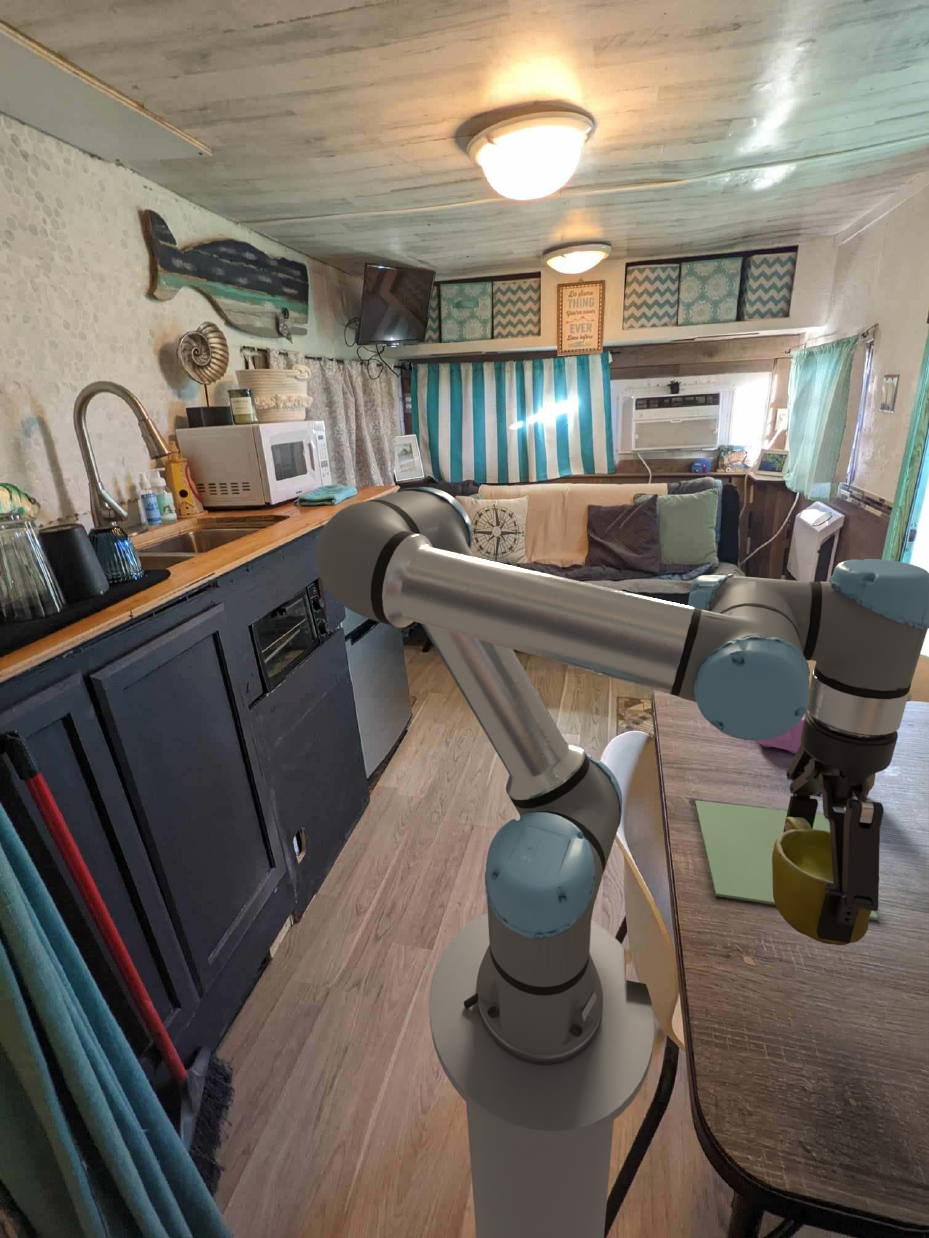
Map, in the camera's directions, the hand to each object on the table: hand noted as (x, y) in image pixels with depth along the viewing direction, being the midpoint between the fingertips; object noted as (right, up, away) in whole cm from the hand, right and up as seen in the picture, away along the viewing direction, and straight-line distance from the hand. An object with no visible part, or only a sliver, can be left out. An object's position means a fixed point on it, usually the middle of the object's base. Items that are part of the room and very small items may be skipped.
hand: (812, 885), depth 61 cm
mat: (+9, -6, +23) cm, 26 cm away
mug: (0, -2, +1) cm, 2 cm away
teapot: (+26, +5, +50) cm, 56 cm away
